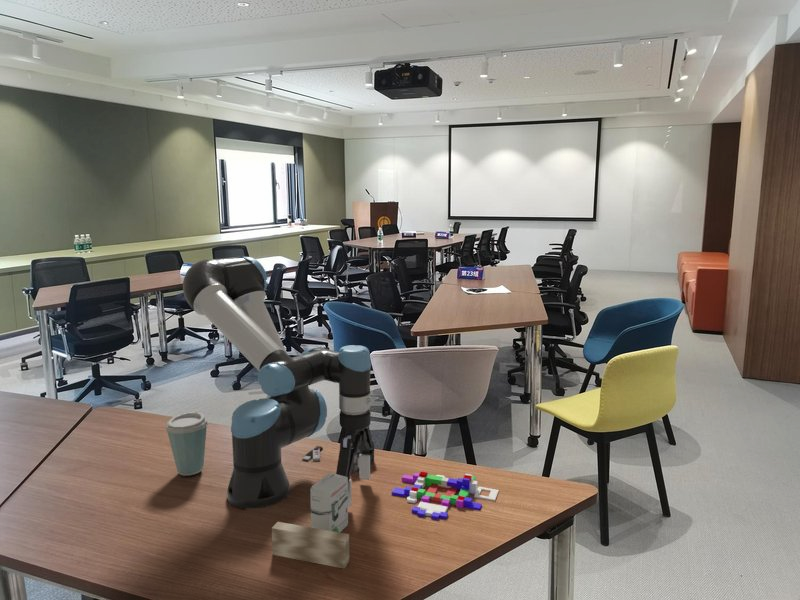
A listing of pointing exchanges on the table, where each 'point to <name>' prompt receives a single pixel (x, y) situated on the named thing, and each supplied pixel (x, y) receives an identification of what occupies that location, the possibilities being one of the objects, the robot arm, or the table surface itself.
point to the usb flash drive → (313, 454)
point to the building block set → (440, 481)
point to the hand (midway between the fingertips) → (355, 491)
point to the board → (310, 544)
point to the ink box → (330, 503)
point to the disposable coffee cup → (188, 441)
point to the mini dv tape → (356, 459)
